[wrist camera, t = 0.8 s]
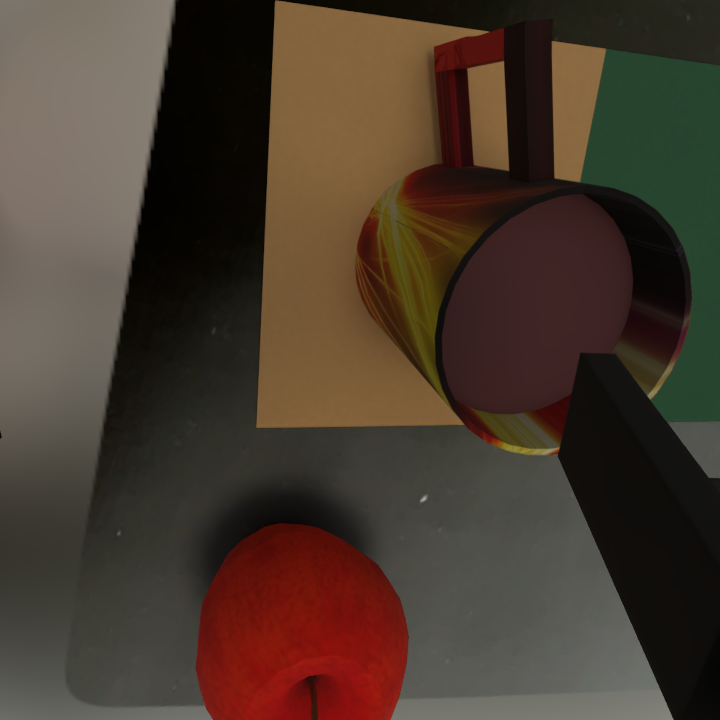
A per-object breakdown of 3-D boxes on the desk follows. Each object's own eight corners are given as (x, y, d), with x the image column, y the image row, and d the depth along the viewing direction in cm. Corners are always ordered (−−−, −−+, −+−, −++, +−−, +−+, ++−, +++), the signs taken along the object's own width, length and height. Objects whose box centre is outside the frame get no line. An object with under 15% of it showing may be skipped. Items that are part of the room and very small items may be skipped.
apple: (395, 498, 37) (477, 658, 26) (333, 633, 40) (385, 831, 29) (229, 458, 34) (243, 621, 23) (173, 607, 37) (162, 821, 25)
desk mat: (275, 0, 27) (275, 0, 27) (862, 86, 35) (863, 86, 35) (256, 426, 34) (256, 427, 34) (754, 419, 42) (755, 420, 42)
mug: (440, 38, 29) (582, -11, 18) (561, 280, 35) (726, 354, 24) (266, 161, 29) (304, 186, 18) (415, 382, 35) (513, 502, 24)
